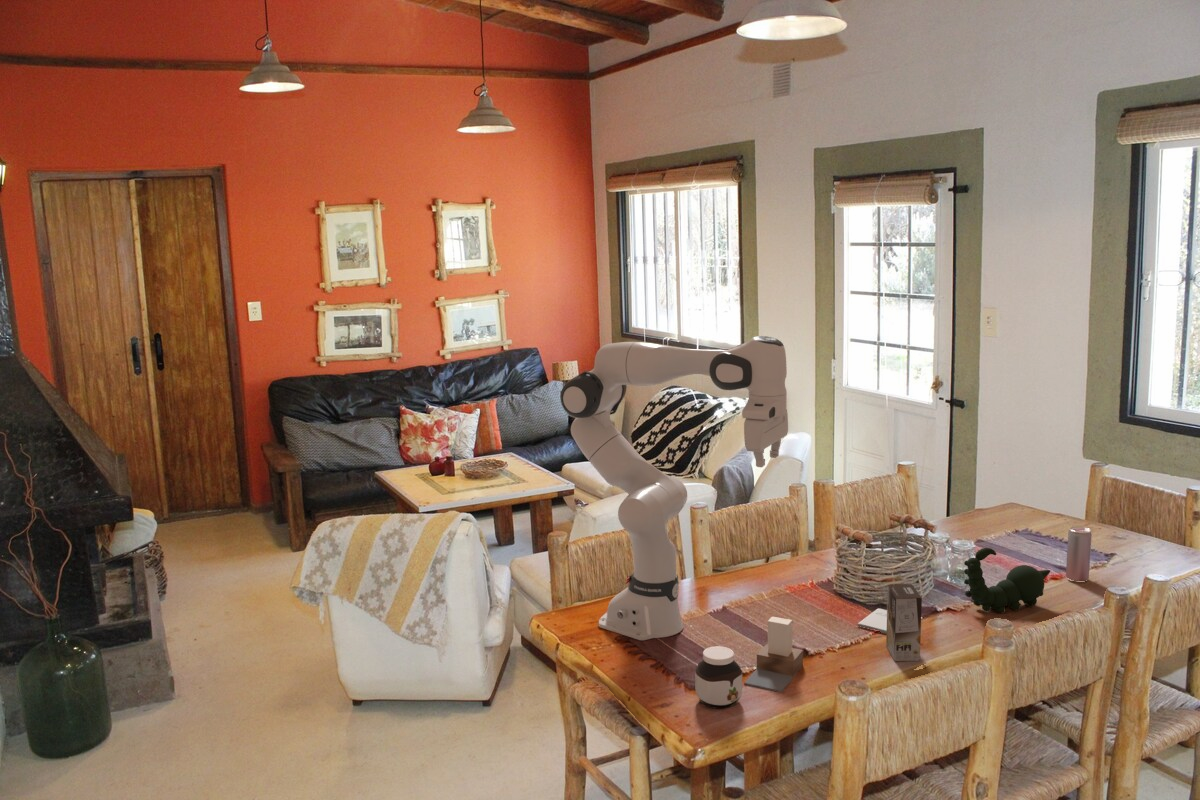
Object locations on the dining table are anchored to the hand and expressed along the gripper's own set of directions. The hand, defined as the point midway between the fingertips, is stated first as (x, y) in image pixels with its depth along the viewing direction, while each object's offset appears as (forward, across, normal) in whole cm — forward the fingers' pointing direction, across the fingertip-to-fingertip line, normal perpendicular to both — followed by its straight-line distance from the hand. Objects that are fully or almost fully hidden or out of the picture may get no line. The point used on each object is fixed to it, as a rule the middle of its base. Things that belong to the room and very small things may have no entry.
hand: (767, 461), depth 243 cm
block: (+44, +8, +6) cm, 45 cm away
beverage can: (+48, -81, +63) cm, 114 cm away
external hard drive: (+49, -28, +21) cm, 60 cm away
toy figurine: (+48, -52, +49) cm, 86 cm away
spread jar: (+48, +28, -1) cm, 56 cm away
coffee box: (+48, -12, +30) cm, 58 cm away
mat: (+48, +16, +6) cm, 51 cm away
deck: (+48, +8, +6) cm, 49 cm away
